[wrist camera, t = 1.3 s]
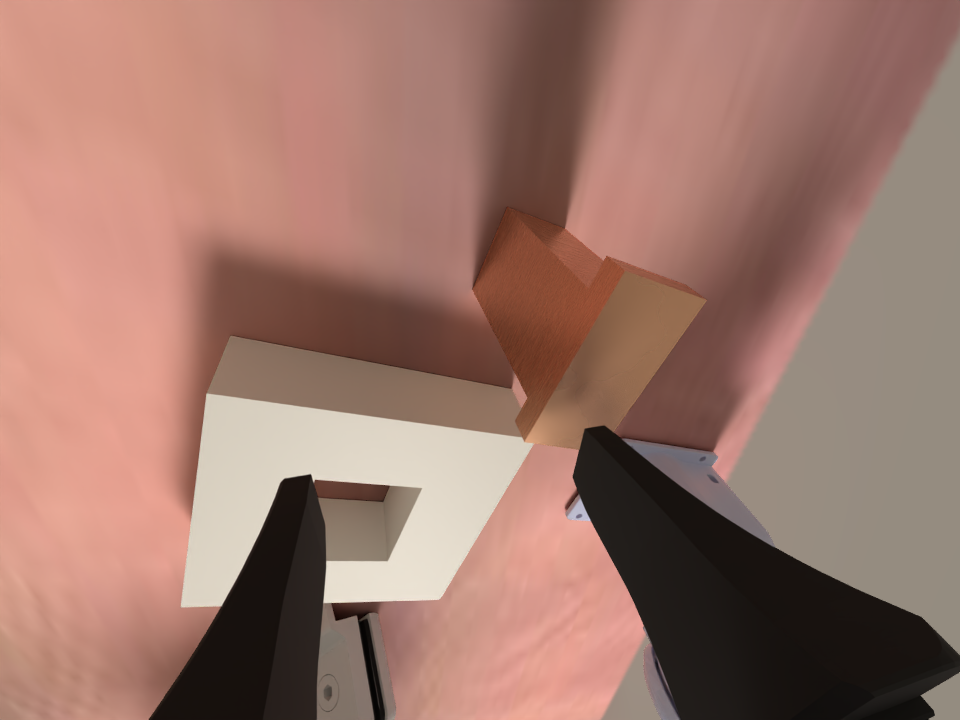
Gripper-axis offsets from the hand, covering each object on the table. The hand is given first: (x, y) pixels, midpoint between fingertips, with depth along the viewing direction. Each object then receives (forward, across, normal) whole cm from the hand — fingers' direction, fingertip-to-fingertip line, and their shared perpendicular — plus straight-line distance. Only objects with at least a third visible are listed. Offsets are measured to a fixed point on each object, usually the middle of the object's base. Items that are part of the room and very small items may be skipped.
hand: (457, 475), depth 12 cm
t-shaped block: (+10, -5, -1) cm, 12 cm away
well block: (+10, +4, +10) cm, 15 cm away
